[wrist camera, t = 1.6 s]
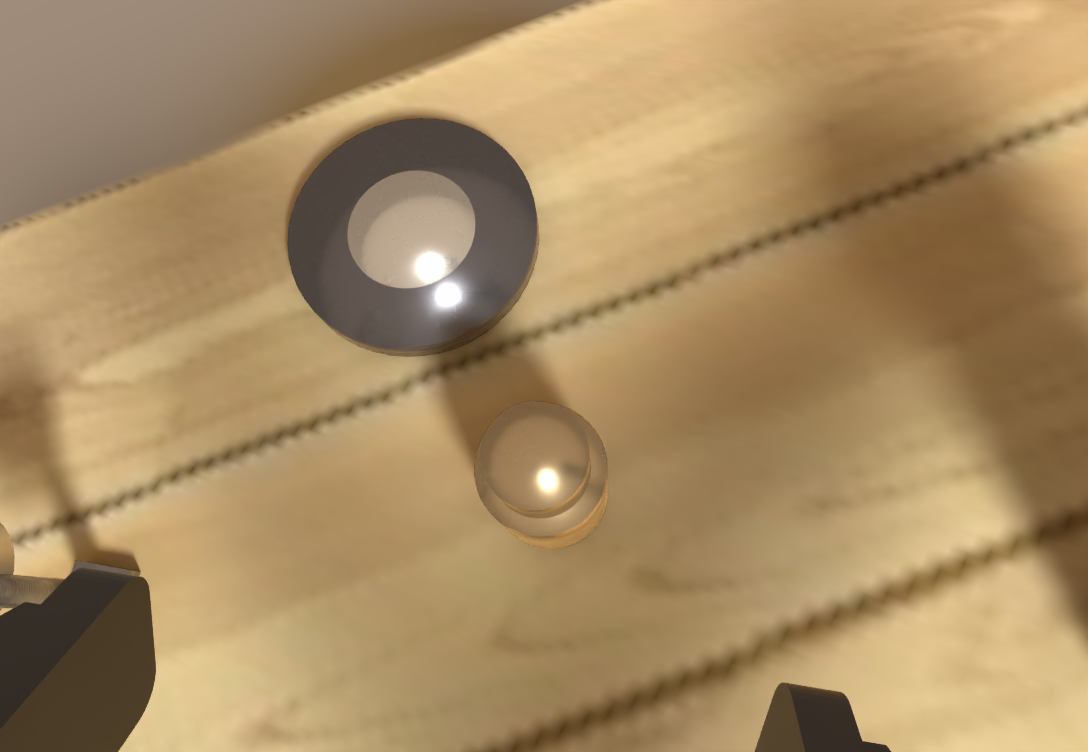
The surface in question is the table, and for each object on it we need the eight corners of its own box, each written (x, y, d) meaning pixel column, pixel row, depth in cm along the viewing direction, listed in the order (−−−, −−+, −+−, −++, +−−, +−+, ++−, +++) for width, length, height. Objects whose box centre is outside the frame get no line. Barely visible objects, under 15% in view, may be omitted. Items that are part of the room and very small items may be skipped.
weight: (598, 557, 41) (595, 538, 32) (486, 538, 42) (449, 514, 32) (615, 445, 43) (616, 395, 33) (506, 429, 44) (477, 375, 34)
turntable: (515, 373, 44) (511, 364, 43) (270, 338, 46) (259, 328, 45) (557, 146, 48) (556, 131, 47) (330, 121, 50) (321, 106, 48)
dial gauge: (113, 661, 42) (-98, 678, 29) (43, 647, 42) (-193, 658, 30) (149, 542, 43) (-37, 511, 31) (81, 530, 44) (-129, 494, 31)
